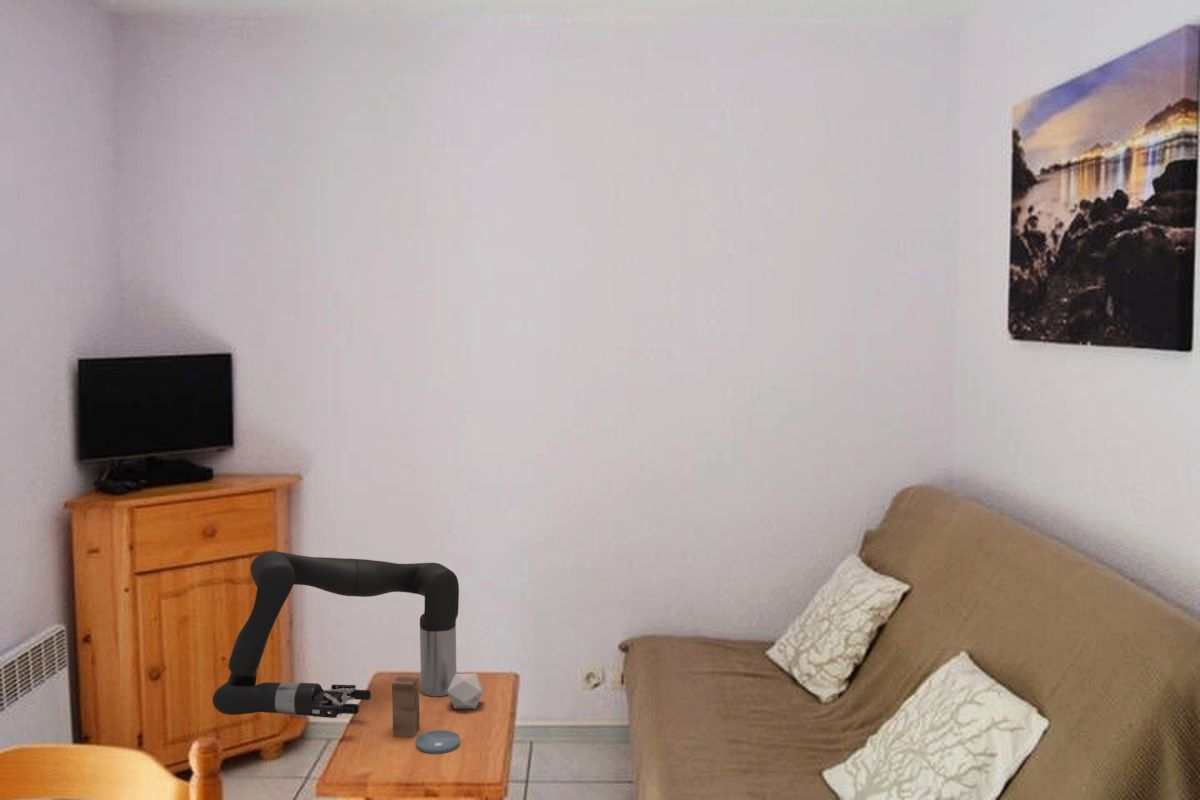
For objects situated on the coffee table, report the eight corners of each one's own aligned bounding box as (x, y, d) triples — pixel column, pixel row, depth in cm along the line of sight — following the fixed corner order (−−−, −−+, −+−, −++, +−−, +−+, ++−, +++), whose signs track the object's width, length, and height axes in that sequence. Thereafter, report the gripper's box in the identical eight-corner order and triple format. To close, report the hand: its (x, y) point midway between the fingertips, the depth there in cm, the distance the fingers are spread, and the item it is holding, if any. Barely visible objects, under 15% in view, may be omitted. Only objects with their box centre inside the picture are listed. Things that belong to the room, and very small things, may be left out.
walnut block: (399, 727, 262) (398, 675, 260) (419, 728, 261) (418, 676, 260) (393, 736, 257) (392, 683, 255) (413, 737, 256) (412, 684, 255)
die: (467, 719, 268) (489, 683, 271) (437, 699, 269) (459, 663, 272) (471, 718, 277) (492, 683, 279) (441, 698, 278) (463, 664, 280)
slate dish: (415, 737, 256) (415, 732, 256) (458, 733, 258) (458, 728, 258) (417, 755, 247) (416, 750, 247) (461, 751, 249) (461, 746, 249)
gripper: (286, 695, 254) (354, 698, 252) (309, 672, 268) (373, 675, 266) (287, 726, 255) (354, 729, 253) (310, 702, 269) (374, 705, 267)
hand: (364, 702), depth 259 cm, fingers open, 8 cm apart
